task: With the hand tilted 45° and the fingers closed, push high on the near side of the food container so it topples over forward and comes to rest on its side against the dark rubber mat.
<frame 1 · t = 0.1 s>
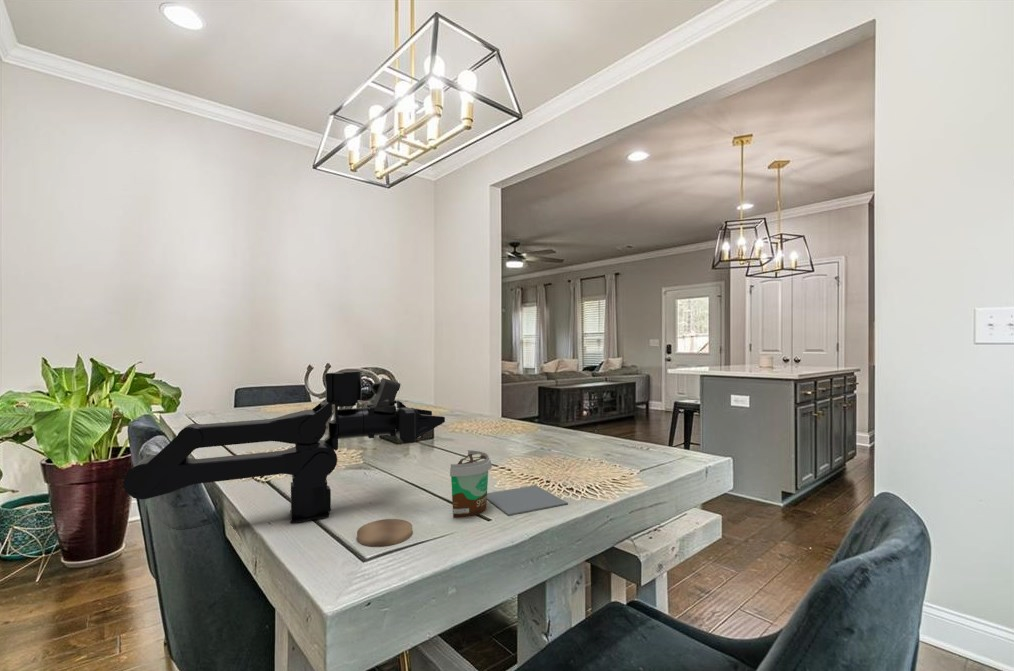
hand: (437, 416, 100), 17 cm above the table, tool horizontal, fingers open, 9 cm apart
walnut coaster: (385, 534, 79), on the table
food container: (476, 510, 90), on the table
rubber mat: (523, 499, 95), on the table
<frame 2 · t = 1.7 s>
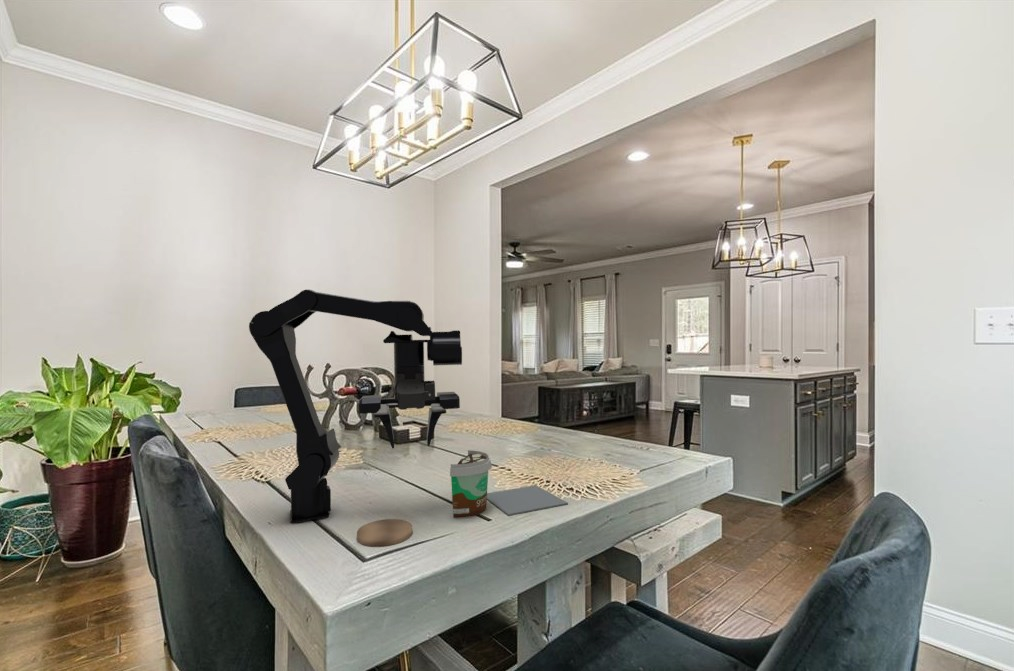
hand: (410, 446, 91), 12 cm above the table, tool pointing down, fingers open, 6 cm apart
nothing on the table moved.
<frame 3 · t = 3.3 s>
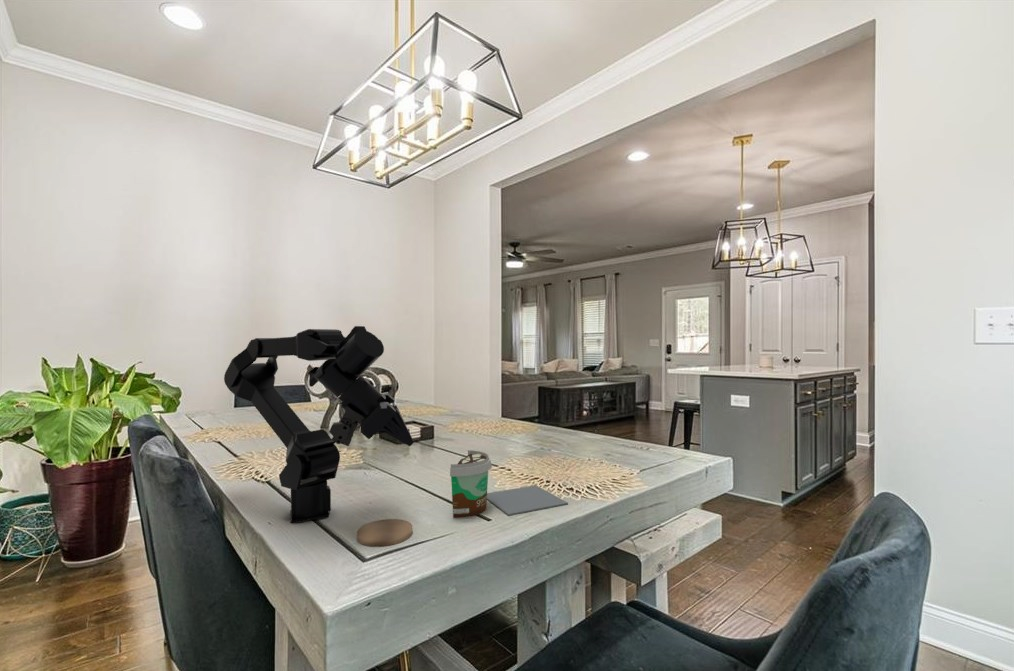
hand: (411, 444, 88), 13 cm above the table, tool tilted 45°, fingers closed
nothing on the table moved.
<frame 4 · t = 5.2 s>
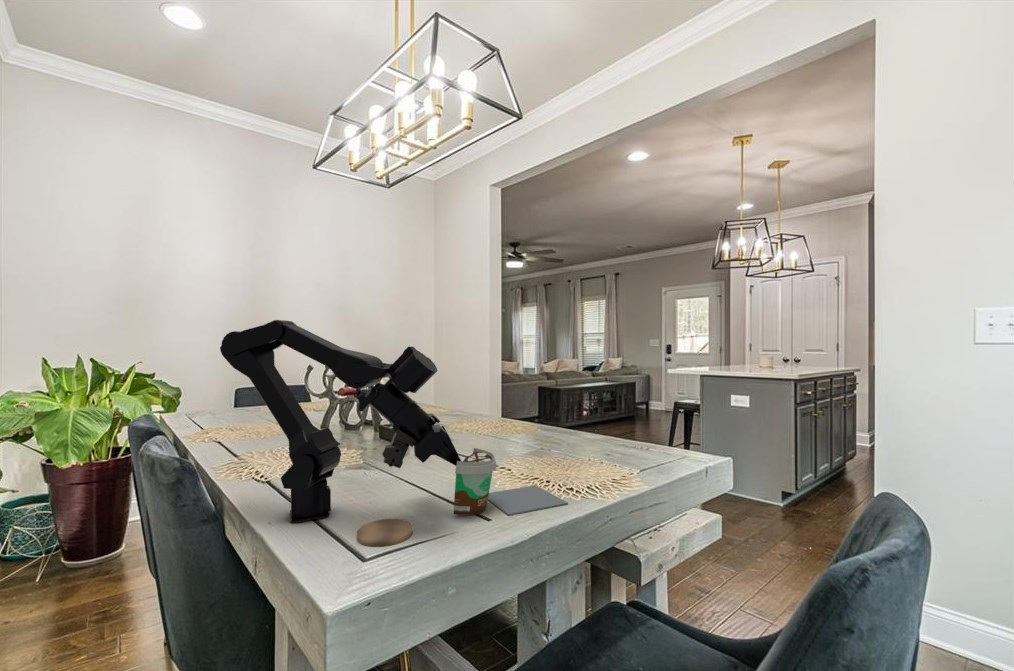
hand: (460, 464, 89), 9 cm above the table, tool tilted 45°, fingers closed
food container: (476, 509, 90), on the table, touching gripper
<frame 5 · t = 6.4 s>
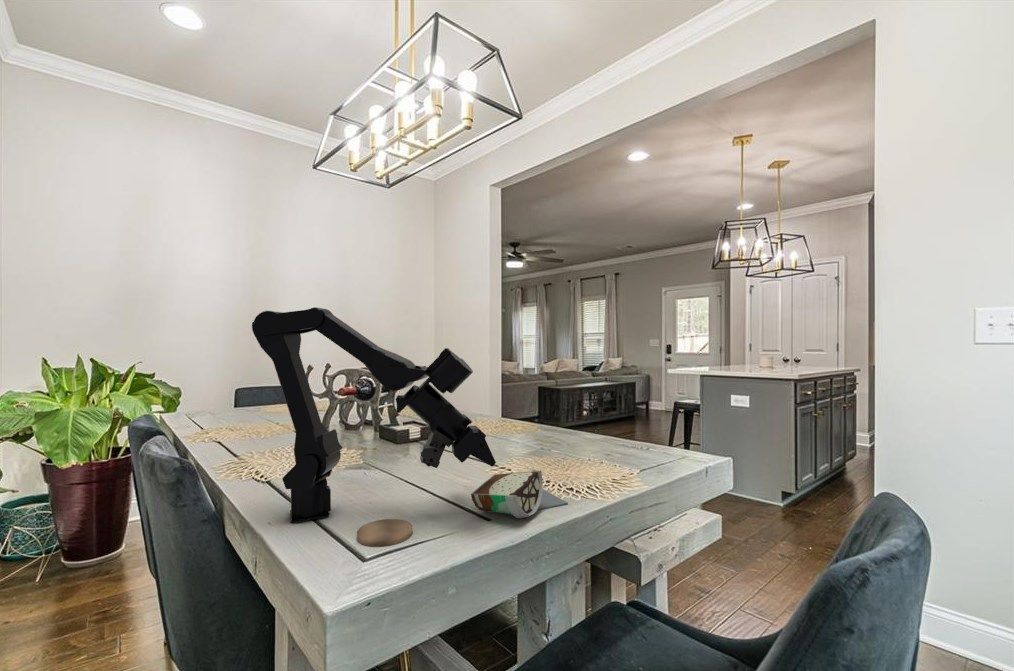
hand: (493, 464, 91), 8 cm above the table, tool tilted 45°, fingers closed
food container: (485, 499, 91), point 2 cm above the table, touching rubber mat
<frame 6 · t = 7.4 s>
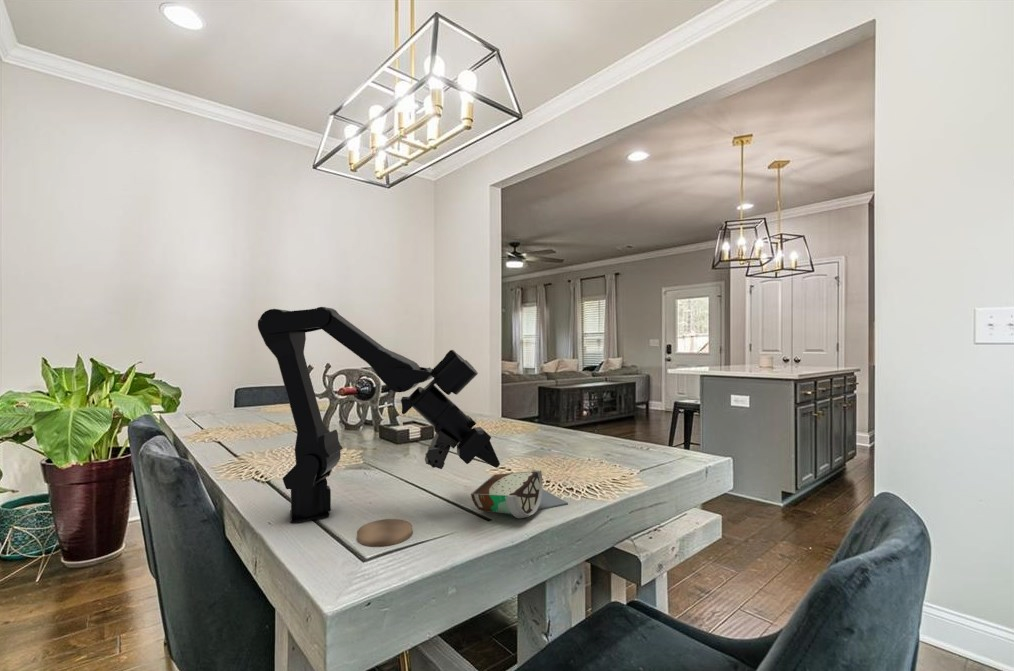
hand: (498, 465, 91), 8 cm above the table, tool tilted 45°, fingers closed
nothing on the table moved.
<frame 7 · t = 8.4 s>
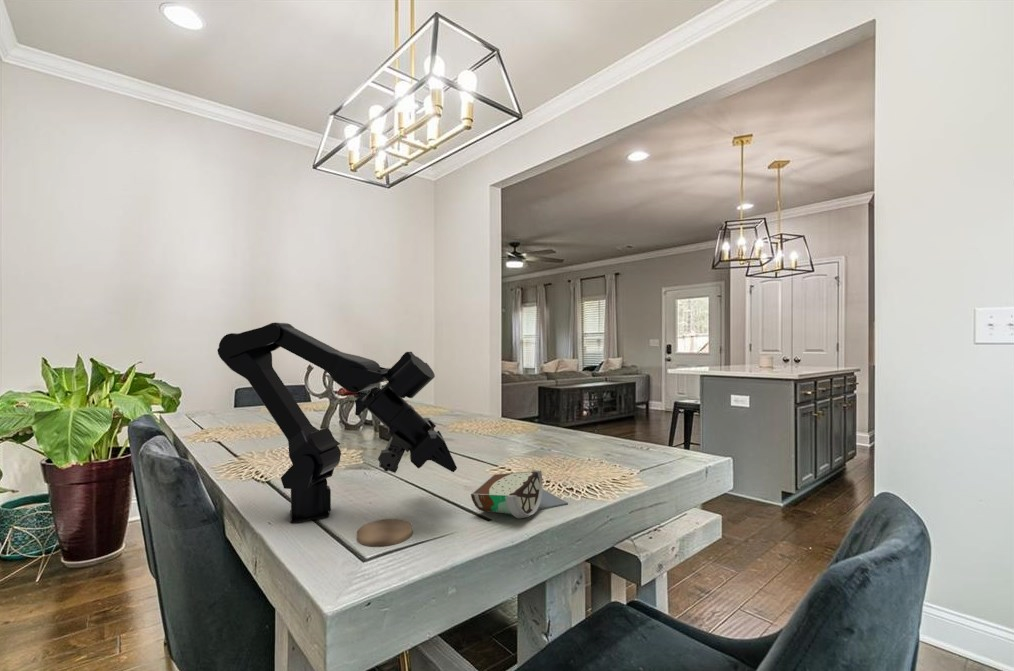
hand: (455, 470, 89), 8 cm above the table, tool tilted 45°, fingers closed
nothing on the table moved.
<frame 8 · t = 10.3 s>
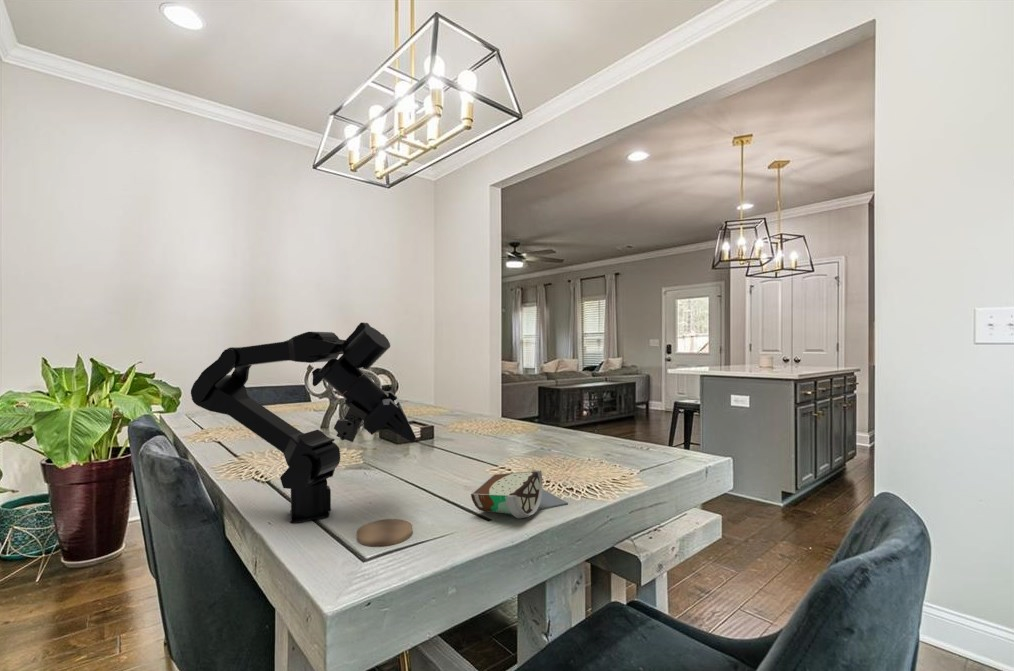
hand: (414, 439, 90), 14 cm above the table, tool tilted 45°, fingers closed
nothing on the table moved.
at the end: food container tilted 82°; food container touching rubber mat, table; food container inside the target area (5.8 cm from its centre), point 1.9 cm above the table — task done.
